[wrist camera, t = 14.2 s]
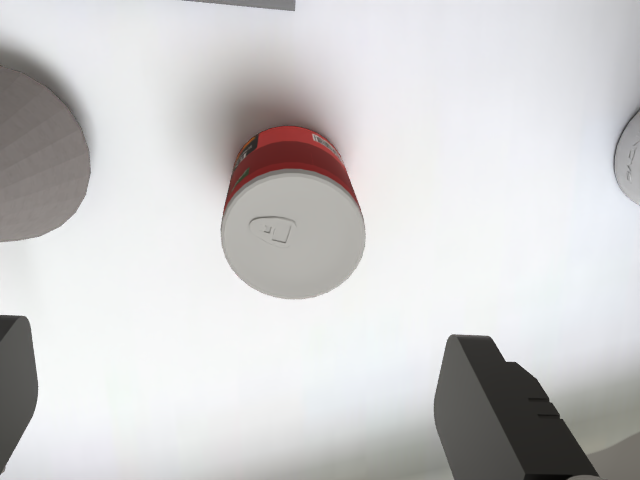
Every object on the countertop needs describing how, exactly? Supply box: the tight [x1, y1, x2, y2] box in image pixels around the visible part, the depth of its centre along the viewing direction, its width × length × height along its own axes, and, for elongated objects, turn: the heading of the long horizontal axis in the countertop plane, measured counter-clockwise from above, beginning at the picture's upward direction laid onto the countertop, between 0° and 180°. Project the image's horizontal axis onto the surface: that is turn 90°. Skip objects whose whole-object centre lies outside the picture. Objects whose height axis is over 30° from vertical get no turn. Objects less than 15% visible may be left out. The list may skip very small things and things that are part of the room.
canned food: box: [221, 126, 365, 299], centre depth 36 cm, size 8×8×11 cm
